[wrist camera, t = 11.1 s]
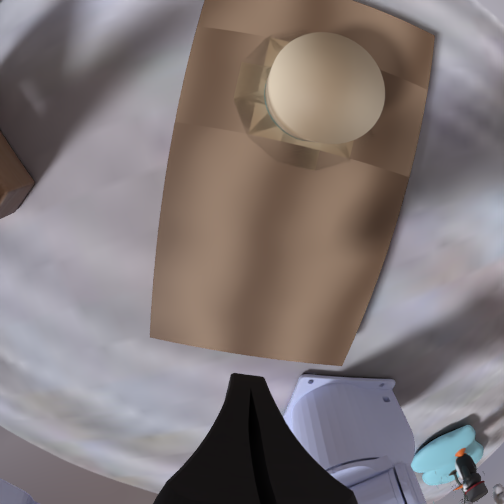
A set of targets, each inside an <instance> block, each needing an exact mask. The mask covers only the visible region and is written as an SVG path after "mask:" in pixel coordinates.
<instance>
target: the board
mask: <svg viewBox="0 0 504 504" xmlns="http://www.w3.org/2000/svg"><path fill="white" fill-rule="evenodd" d="M316 32H327V33H334V34H338V35H342V36H344V37H347V38H349V39H351V40H353V41H355V42H356V43H357V44H359V45H360V46H362V47H363V48H364V49H365V50H366V51H367V52H368V53H369V54H370V55H371V56H372V58H373V59H374V60H375V62H376V64H377V65H378V67H379V69H380V71H381V74H382V77H383V81H384V86H385V101H384V106H383V110H382V112H381V115H380V117H379V119H378V120H377V122H376V123H375V125H374V126H373V127H372V128H371V129H370V130H369V131H368V132H367V133H366V134H364V135H363V136H361V137H359V138H357V139H355V140H353V141H350V142H346V143H341V144H325V143H317V142H308V141H302V140H299V139H296V138H294V137H291V136H290V135H288V134H286V133H285V132H283V131H282V130H281V129H280V128H279V127H278V126H277V125H276V124H275V123H274V121H273V120H272V119H271V117H270V115H269V113H268V111H267V108H266V104H265V98H264V90H265V84H266V81H267V78H268V76H269V73H270V70H271V68H272V65H273V63H274V61H275V59H276V57H277V55H278V54H279V52H280V51H281V50H282V49H283V48H284V47H285V46H286V45H287V44H288V43H290V42H291V41H293V40H294V39H296V38H298V37H300V36H303V35H306V34H310V33H316ZM434 39H435V36H434V35H432V34H430V33H428V32H426V31H424V30H422V29H420V28H418V27H416V26H414V25H412V24H410V23H408V22H405V21H403V20H401V19H399V18H396V17H394V16H392V15H389V14H387V13H385V12H382V11H380V10H377V9H375V8H372V7H369V6H367V5H364V4H361V3H358V2H356V1H353V0H205V1H204V4H203V8H202V11H201V14H200V18H199V22H198V25H197V29H196V32H195V36H194V40H193V44H192V48H191V52H190V56H189V60H188V64H187V68H186V72H185V77H184V81H183V86H182V90H181V95H180V100H179V104H178V109H177V114H176V119H175V124H174V130H173V135H172V141H171V146H170V152H169V158H168V164H167V170H166V177H165V184H164V190H163V198H162V205H161V213H160V221H159V229H158V238H157V247H156V257H155V268H154V279H153V292H152V306H151V324H150V337H151V338H156V339H160V340H165V341H170V342H175V343H180V344H185V345H190V346H195V347H201V348H206V349H212V350H217V351H223V352H229V353H236V354H242V355H249V356H256V357H263V358H270V359H278V360H286V361H295V362H304V363H314V364H324V365H336V366H342V365H343V362H344V360H345V358H346V356H347V354H348V351H349V349H350V347H351V345H352V342H353V340H354V338H355V335H356V333H357V331H358V328H359V326H360V323H361V321H362V318H363V316H364V314H365V311H366V309H367V306H368V303H369V301H370V298H371V296H372V293H373V290H374V288H375V285H376V282H377V280H378V277H379V274H380V271H381V268H382V266H383V263H384V260H385V257H386V254H387V251H388V248H389V245H390V242H391V239H392V236H393V233H394V229H395V226H396V223H397V220H398V216H399V213H400V209H401V206H402V202H403V199H404V195H405V192H406V188H407V184H408V180H409V177H410V173H411V169H412V165H413V161H414V156H415V152H416V148H417V143H418V139H419V134H420V129H421V124H422V119H423V114H424V109H425V103H426V98H427V92H428V85H429V79H430V72H431V65H432V57H433V48H434Z"/></svg>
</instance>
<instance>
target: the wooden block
mask: <svg viewBox="0 0 504 504" xmlns="http://www.w3.org/2000/svg"><path fill="white" fill-rule="evenodd" d="M33 185H34V180H33V179H32V177H31V176H30V175H29V173H28V172H27V170H26V169H25V168H24V166H23V165H22V163H21V162H20V160H19V159H18V157H17V156H16V154H15V153H14V151H13V150H12V148H11V147H10V145H9V144H8V142H7V141H6V139H5V138H4V136H3V134H2V133H1V131H0V219H1V218H3V217H6V216H8V215H10V214H12V213H14V212H15V211H16V210H17V208H18V207H19V205H20V204H21V202H22V201H23V199H24V198H25V196H26V195H27V194H28V192H29V191H30V189H31V188H32V187H33Z"/></svg>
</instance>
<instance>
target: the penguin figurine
mask: <svg viewBox="0 0 504 504" xmlns="http://www.w3.org/2000/svg"><path fill="white" fill-rule="evenodd" d="M475 433H476V432H475V430H474V429H473V427H472V426H471V425H466V426H463V427H461V428H458V429H456V430H454V431H452V432H449V433H447V434H444V435H442V436H440V437H438V438H436V439H434V440H433V441H431V442H430V443H428V444H427V445H426V446H424V447H423V448H422V449H421V450H420V451H419V452H418V453H417V454H416V455H415V456H414V458H413V461H412V463H411V467H412V469H413V470H414V471H415V472H418V473H423V476H422V477H423V481H424V482H425V483H426V484H428V485H439V484H443V483H448V482H450V483H451V481H453V480H456V482H457V483H458V484H459V487H458V488H456V489H455V490H457V489H460V488H461V489H462V491H463V493H464V499H465V500H466V499H467V500H466V501H467V502H466V504H473V502H475V501H477V500H479V499H480V498H482V497H483V496H484V495H486V494H487V493H488V490H487V488H486V486H485V484H484V483H485V482H484V481H481V476H480V475H479V474H478V473H476V470H477V468H476V467H477V466H476V465H475V464H476V463H477V462H478V461H479V460H480V459H481V458H482V456H483V450H484V448H483V446H482V445H481V444H479V443H478V442H476V441H475ZM458 477H460V478H461V479H463V480H464V481H463V484H461V483H460V482H459V480H458ZM461 479H460V480H461ZM451 487H452V486H451ZM437 488H438V486H437ZM451 489H452V488H451ZM468 499H469V500H468ZM465 500H464V504H465ZM493 500H494V503H495V504H504V487H502V485H501V484H497V485H495V486H494V487H493ZM433 503H434V502H433Z"/></svg>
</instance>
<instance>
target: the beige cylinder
mask: <svg viewBox="0 0 504 504" xmlns="http://www.w3.org/2000/svg"><path fill="white" fill-rule="evenodd" d="M264 98H265V104H266V108H267V111H268V113H269V115H270V117H271V119H272V120H273V121H274V123H275V124H276V125H277V126H278V127H279V128H280V129H281V130H282V131H283V132H285V133H286V134H288V135H290V136H291V137H294V138H296V139H299V140H302V141H308V142H317V143H325V144H341V143H346V142H350V141H353V140H355V139H357V138H359V137H361V136H363V135H364V134H366V133H367V132H368V131H369V130H370V129H371V128H372V127H373V126H374V125H375V123H376V122H377V120H378V119H379V117H380V115H381V112H382V110H383V106H384V101H385V86H384V81H383V77H382V74H381V71H380V69H379V67H378V65H377V64H376V62H375V60H374V59H373V58H372V56H371V55H370V54H369V53H368V52H367V51H366V50H365V49H364V48H363V47H362V46H360V45H359V44H357V43H356V42H355V41H353V40H351V39H349V38H347V37H344V36H342V35H338V34H334V33H327V32H316V33H310V34H306V35H303V36H300V37H298V38H296V39H294V40H293V41H291V42H290V43H288V44H287V45H286V46H285V47H284V48H283V49H282V50H281V51H280V52H279V54H278V55H277V57H276V59H275V61H274V63H273V65H272V68H271V70H270V73H269V76H268V78H267V81H266V84H265V90H264Z"/></svg>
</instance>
